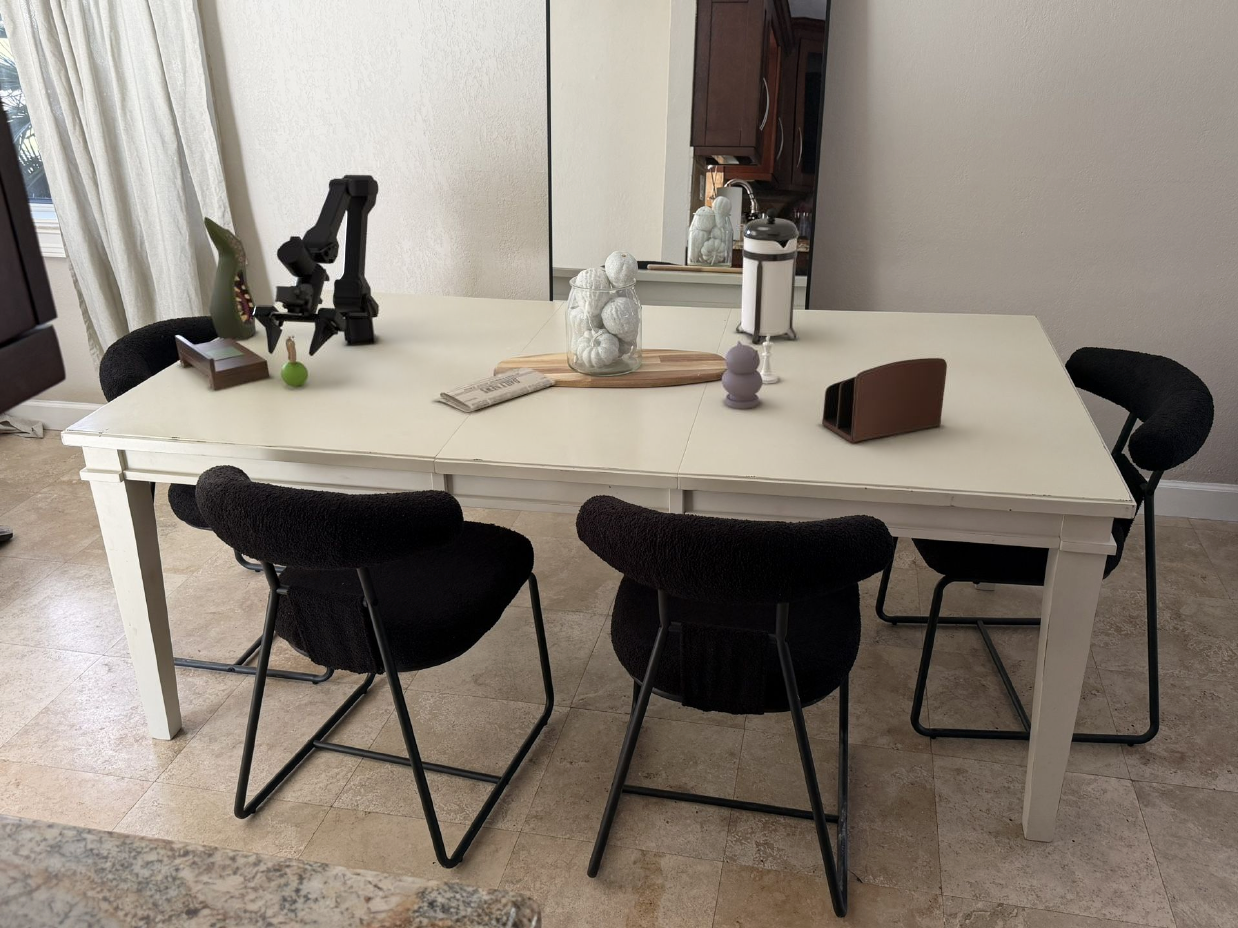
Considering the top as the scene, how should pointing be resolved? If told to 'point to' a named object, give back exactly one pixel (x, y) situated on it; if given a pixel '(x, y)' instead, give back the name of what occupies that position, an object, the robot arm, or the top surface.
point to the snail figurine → (293, 367)
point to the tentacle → (230, 286)
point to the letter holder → (887, 400)
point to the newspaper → (496, 389)
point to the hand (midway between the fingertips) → (290, 354)
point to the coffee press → (768, 277)
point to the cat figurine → (742, 377)
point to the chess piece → (767, 364)
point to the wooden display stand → (223, 362)
